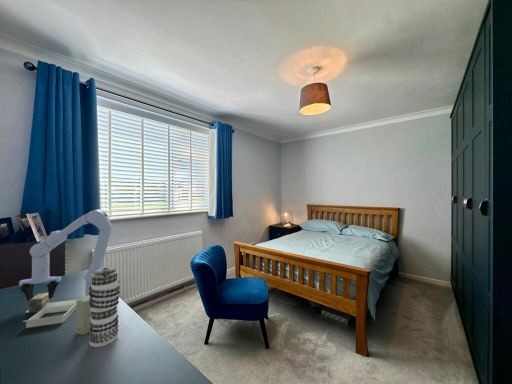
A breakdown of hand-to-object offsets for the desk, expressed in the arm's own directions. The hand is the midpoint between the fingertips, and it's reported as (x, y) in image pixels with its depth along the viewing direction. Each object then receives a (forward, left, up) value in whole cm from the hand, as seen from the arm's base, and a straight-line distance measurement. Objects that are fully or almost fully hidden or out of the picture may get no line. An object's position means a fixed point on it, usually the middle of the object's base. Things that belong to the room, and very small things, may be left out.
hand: (40, 299), depth 99 cm
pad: (0, 0, -4) cm, 4 cm away
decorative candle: (-36, +33, -4) cm, 49 cm away
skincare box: (-28, +25, -4) cm, 38 cm away
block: (0, +1, -4) cm, 4 cm away
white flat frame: (-10, +12, -4) cm, 16 cm away
